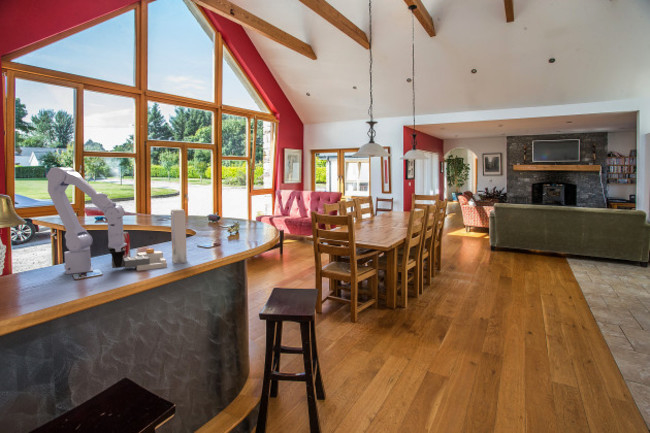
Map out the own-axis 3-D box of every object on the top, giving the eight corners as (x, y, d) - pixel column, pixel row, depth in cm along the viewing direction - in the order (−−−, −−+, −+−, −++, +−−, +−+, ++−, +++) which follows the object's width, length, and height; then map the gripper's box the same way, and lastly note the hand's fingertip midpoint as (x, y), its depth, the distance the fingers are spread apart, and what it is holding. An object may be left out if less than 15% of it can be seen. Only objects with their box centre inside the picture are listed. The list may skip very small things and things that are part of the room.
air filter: (182, 264, 176) (180, 210, 173) (169, 263, 177) (167, 209, 174) (189, 260, 182) (188, 209, 179) (177, 260, 184) (175, 208, 181)
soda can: (118, 261, 179) (116, 234, 178) (111, 259, 183) (109, 232, 182) (133, 259, 185) (132, 232, 183) (126, 256, 189) (124, 231, 188)
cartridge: (113, 269, 160) (112, 259, 159) (111, 266, 165) (111, 256, 165) (149, 265, 168) (149, 256, 167) (147, 262, 173) (146, 253, 173)
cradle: (137, 270, 164) (136, 259, 163) (132, 264, 175) (132, 253, 174) (167, 267, 170) (166, 256, 170) (160, 260, 182) (160, 250, 181)
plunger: (146, 260, 174) (146, 250, 174) (145, 259, 177) (145, 248, 176) (155, 260, 176) (154, 249, 175) (153, 258, 179) (153, 248, 178)
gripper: (128, 235, 158) (130, 267, 160) (124, 231, 170) (125, 260, 172) (109, 237, 154) (110, 269, 156) (106, 232, 166) (107, 262, 168)
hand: (117, 265), depth 164 cm, fingers open, 6 cm apart
